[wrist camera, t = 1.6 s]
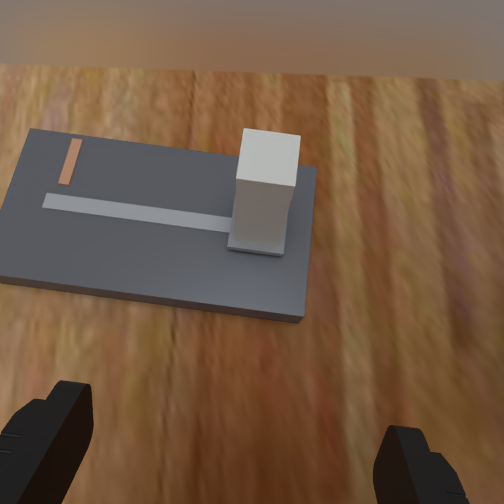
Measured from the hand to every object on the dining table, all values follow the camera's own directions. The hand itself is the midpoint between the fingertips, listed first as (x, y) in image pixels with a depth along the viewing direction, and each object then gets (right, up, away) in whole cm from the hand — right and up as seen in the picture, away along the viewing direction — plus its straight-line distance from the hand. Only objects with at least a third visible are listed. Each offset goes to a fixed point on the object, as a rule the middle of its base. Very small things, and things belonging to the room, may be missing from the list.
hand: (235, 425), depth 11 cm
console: (-7, +6, +22) cm, 24 cm away
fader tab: (+1, +6, +19) cm, 20 cm away
